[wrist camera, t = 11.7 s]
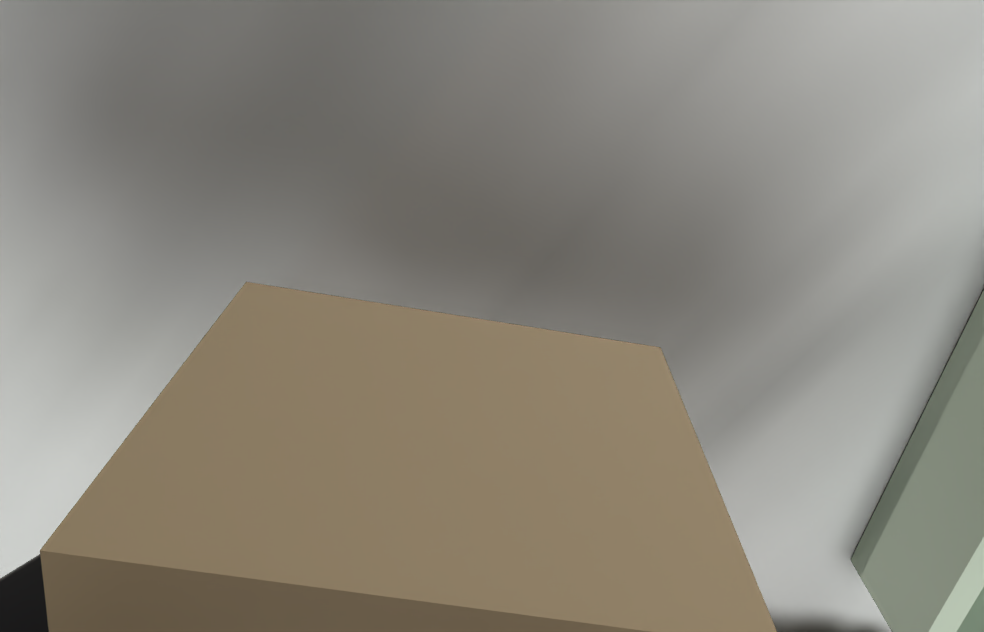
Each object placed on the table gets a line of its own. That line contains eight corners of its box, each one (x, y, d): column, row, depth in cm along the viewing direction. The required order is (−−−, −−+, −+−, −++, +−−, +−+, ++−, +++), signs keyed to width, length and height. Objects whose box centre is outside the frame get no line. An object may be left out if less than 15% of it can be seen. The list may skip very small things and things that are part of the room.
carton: (245, 281, 8) (39, 549, 4) (660, 348, 8) (784, 650, 5) (234, 594, 10) (84, 961, 6) (572, 638, 10) (612, 1012, 7)
